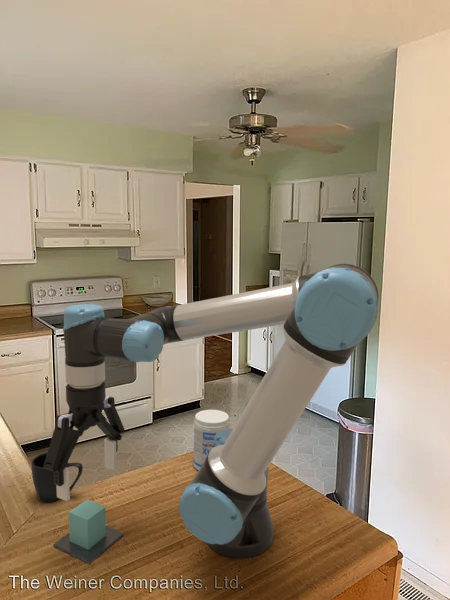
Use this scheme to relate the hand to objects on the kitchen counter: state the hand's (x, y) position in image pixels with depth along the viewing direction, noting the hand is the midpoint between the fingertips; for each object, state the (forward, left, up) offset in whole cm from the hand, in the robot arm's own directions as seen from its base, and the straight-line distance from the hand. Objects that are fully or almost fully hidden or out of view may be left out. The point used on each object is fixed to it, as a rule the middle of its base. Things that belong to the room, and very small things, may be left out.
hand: (88, 482), depth 96 cm
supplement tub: (-6, -40, -13) cm, 43 cm away
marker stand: (0, 0, -13) cm, 13 cm away
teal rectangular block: (0, 0, -13) cm, 13 cm away
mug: (+18, -8, -13) cm, 24 cm away
